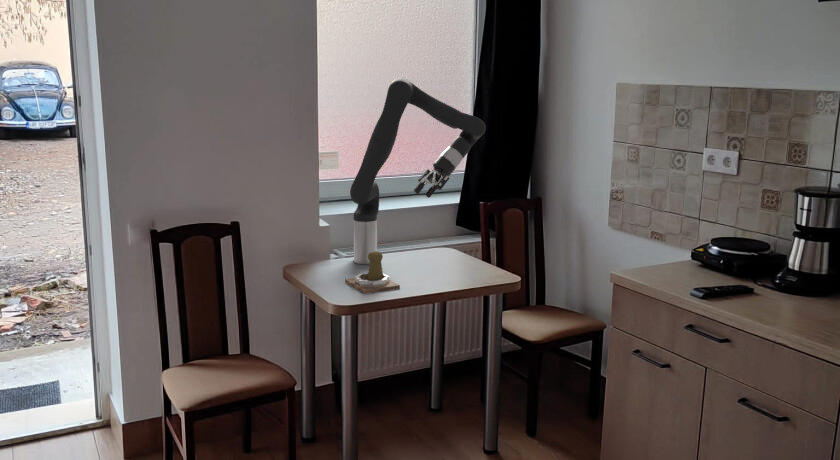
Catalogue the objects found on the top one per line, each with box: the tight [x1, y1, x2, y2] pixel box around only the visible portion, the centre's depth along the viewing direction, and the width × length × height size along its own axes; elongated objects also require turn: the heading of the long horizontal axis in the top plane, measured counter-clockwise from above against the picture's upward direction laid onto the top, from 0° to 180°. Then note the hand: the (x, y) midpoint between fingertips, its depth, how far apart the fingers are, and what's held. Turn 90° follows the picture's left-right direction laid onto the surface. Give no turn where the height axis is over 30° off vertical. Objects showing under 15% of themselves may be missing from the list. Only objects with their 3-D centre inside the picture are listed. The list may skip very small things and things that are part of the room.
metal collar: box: [354, 272, 390, 287], centre depth 278 cm, size 11×11×2 cm
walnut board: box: [344, 277, 401, 295], centre depth 278 cm, size 16×14×1 cm
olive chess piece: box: [367, 251, 384, 281], centre depth 277 cm, size 6×6×11 cm
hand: (421, 194), depth 287 cm, fingers open, 8 cm apart
